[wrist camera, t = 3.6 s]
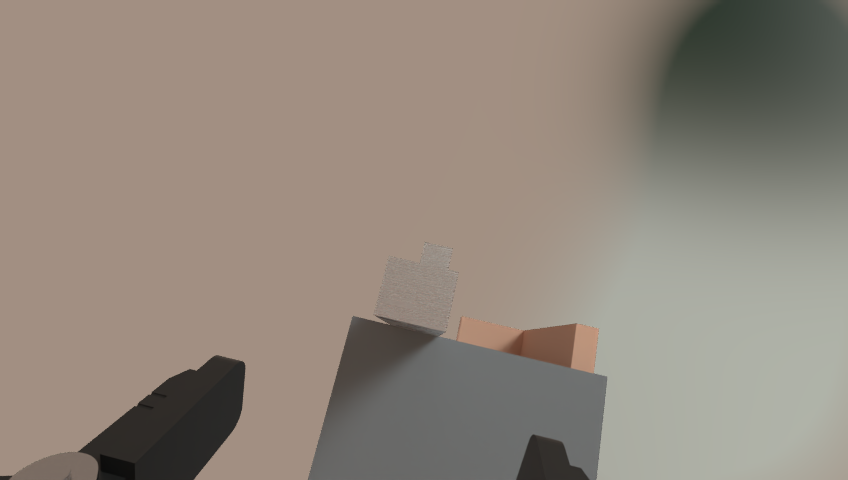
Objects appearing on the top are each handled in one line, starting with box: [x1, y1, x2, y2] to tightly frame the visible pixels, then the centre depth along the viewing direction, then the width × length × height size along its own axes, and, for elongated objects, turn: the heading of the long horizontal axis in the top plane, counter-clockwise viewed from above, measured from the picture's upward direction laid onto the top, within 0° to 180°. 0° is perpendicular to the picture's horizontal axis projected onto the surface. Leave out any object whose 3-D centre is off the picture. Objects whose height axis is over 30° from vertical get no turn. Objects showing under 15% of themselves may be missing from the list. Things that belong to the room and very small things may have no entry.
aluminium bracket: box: [374, 242, 459, 336], centre depth 30 cm, size 3×26×10 cm, turn 179°
